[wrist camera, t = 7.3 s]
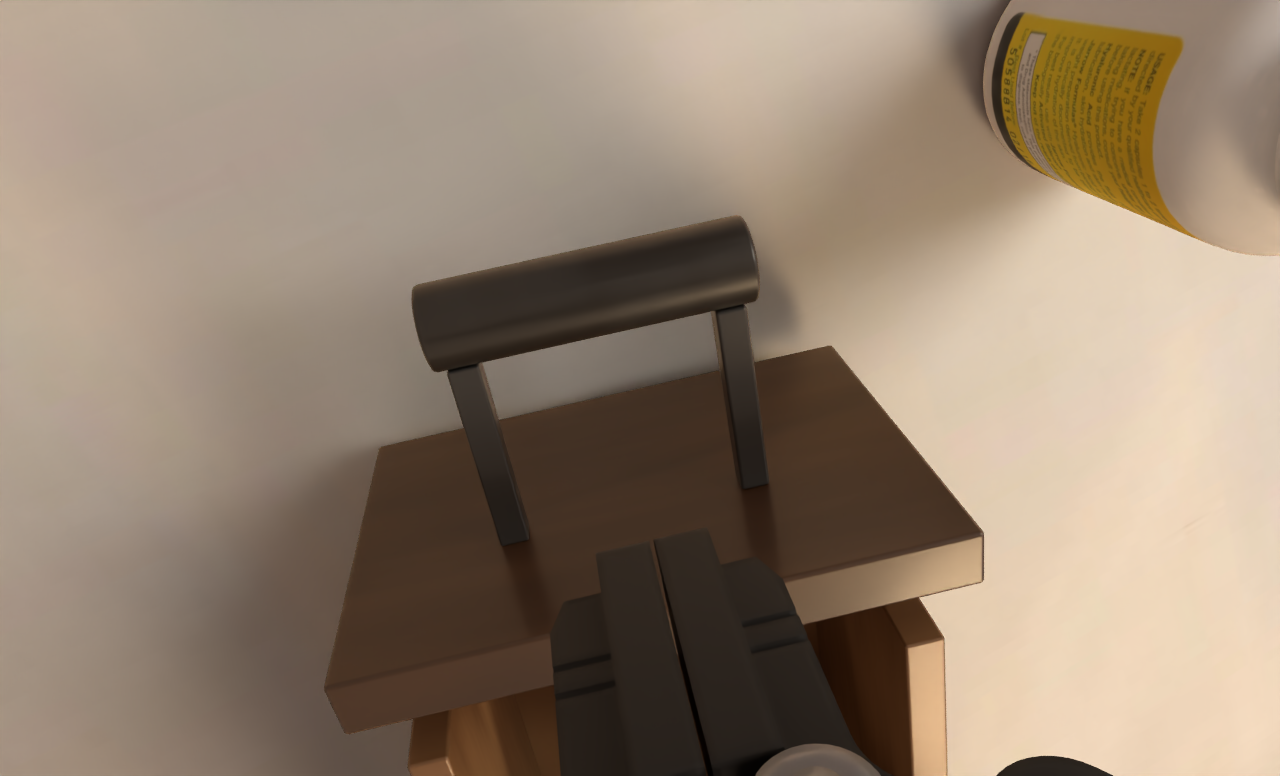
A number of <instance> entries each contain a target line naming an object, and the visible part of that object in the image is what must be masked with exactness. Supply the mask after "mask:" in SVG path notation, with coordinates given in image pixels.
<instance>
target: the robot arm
mask: <svg viewBox="0 0 1280 776" xmlns="http://www.w3.org/2000/svg"><path fill="white" fill-rule="evenodd" d="M654 545H655V550H656V555H657V560H658V565H659V569H660V574H661V579H662V583H663V588H664V593H665V598H666V602H667V607H668V612H669V616H670V621H671V626H672V630H673V635H674V639H675V644H676V648H677V652H676V648H675V644H674V640H673V636H672V632H671V628H670V624H669V620H668V616H667V612H666V608H665V604H664V600H663V596H662V592H661V588H660V584H659V579H658V575H657V571H656V567H655V563H654V559H653V555H652V551H651V547H650V543H649V541H645V542H641V543H637V544H632V545H628V546H624V547H620V548H615V549H611V550H607V551H602V552H598V553H596V562H597V568H598V575H599V581H600V588H601V593H598V594H594V595H589V596H585V597H581V598H577V599H572V600H568V601H564V602H563V604H562V607H561V609H560V611H559V614H558V616H557V618H556V621H555V623H554V625H553V628H552V630H551V632H550V642H551V655H552V667H553V672H554V673H553V681H554V694H555V699H556V701H555V707H556V721H557V734H558V747H559V760H560V773H561V776H707V775H706V770H707V774H708V776H893V775H891V774H889V773H887V772H885V771H884V770H882V769H881V768H879V767H878V766H877V765H875V764H874V763H872V762H871V761H870V760H869V759H868V758H867V757H866V756H865V755H864V754H863V753H862V751H861V750H860V749H859V747H858V746H857V745H856V743H855V741H854V740H853V738H852V736H851V734H850V732H849V729H848V727H847V725H846V723H845V720H844V718H843V716H842V713H841V711H840V709H839V707H838V704H837V702H836V700H835V697H834V695H833V693H832V691H831V688H830V686H829V684H828V681H827V679H826V677H825V674H824V672H823V670H822V668H821V665H820V663H819V661H818V658H817V656H816V654H815V652H814V649H813V647H812V645H811V642H810V640H808V637H807V633H806V631H805V629H804V626H803V624H802V622H801V619H800V617H799V615H797V612H796V608H795V606H794V603H793V601H792V599H791V597H790V594H789V592H788V590H787V587H786V585H785V583H784V581H783V579H782V578H781V577H780V576H779V575H778V574H776V573H775V572H774V571H773V570H772V569H770V568H769V567H768V566H767V565H766V564H764V563H763V562H762V561H761V560H759V559H758V558H757V557H756V556H755V557H751V558H746V559H742V560H738V561H734V562H729V563H725V564H721V565H720V562H719V559H718V556H717V553H716V550H715V547H714V545H713V542H712V539H711V536H710V533H709V531H708V529H707V527H705V528H700V529H696V530H692V531H687V532H683V533H679V534H674V535H670V536H666V537H662V538H657V539H654ZM677 653H678V656H677ZM678 657H679V660H678ZM679 661H680V664H679ZM680 665H681V668H680ZM681 669H682V673H681ZM682 674H683V677H682ZM683 678H684V681H683ZM684 682H685V685H684ZM685 686H686V689H685ZM686 690H687V693H686ZM687 694H688V697H687ZM688 698H689V701H688ZM689 702H690V705H689ZM690 706H691V709H690ZM691 710H692V713H691ZM692 714H693V717H692ZM693 718H694V721H693ZM694 722H695V725H694ZM695 726H696V729H695ZM696 730H697V733H696ZM697 734H698V737H697ZM698 738H699V741H698ZM699 742H700V745H699ZM700 746H701V749H700ZM701 750H702V753H701ZM702 754H703V758H704V762H705V766H706V770H705V766H704V762H703V758H702ZM997 776H1113V775H1111V774H1109V773H1107V772H1104V771H1102V770H1100V769H1098V768H1096V767H1094V766H1091V765H1089V764H1086V763H1084V762H1081V761H1077V760H1074V759H1070V758H1064V757H1057V756H1038V757H1031V758H1026V759H1023V760H1020V761H1017V762H1015V763H1013V764H1011V765H1009V766H1007V767H1006V768H1005V769H1003V770H1002V771H1001V772H999V773H998V774H997Z"/></svg>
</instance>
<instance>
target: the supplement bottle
mask: <svg viewBox="0 0 1280 776" xmlns="http://www.w3.org/2000/svg"><path fill="white" fill-rule="evenodd" d="M983 95H984V104H985V108H986V112H987V116H988V119H989V122H990V124H991V126H992V129H993V131H994V133H995V135H996V136H997V138H998V139H999V141H1000V142H1001V144H1002V145H1003V146H1004V147H1005V148H1006V149H1007V151H1008V152H1009V153H1010V154H1012V155H1013V156H1014V157H1015V158H1017V159H1018V160H1019V161H1021V162H1022V163H1024V164H1025V165H1027V166H1029V167H1031V168H1032V169H1034V170H1036V171H1038V172H1040V173H1042V174H1044V175H1046V176H1049V177H1051V178H1053V179H1055V180H1058V181H1060V182H1062V183H1065V184H1067V185H1070V186H1072V187H1075V188H1077V189H1079V190H1081V191H1084V192H1086V193H1089V194H1091V195H1093V196H1096V197H1098V198H1101V199H1103V200H1106V201H1108V202H1110V203H1112V204H1115V205H1117V206H1120V207H1122V208H1125V209H1127V210H1130V211H1132V212H1134V213H1137V214H1139V215H1142V216H1144V217H1146V218H1149V219H1151V220H1154V221H1156V222H1158V223H1161V224H1163V225H1165V226H1168V227H1170V228H1172V229H1175V230H1177V231H1179V232H1182V233H1184V234H1186V235H1189V236H1191V237H1194V238H1196V239H1198V240H1201V241H1203V242H1206V243H1208V244H1211V245H1213V246H1217V247H1220V248H1223V249H1226V250H1229V251H1233V252H1237V253H1242V254H1249V255H1259V256H1276V255H1280V0H1011V1H1010V3H1009V4H1008V6H1007V7H1006V9H1005V11H1004V12H1003V14H1002V16H1001V18H1000V20H999V22H998V24H997V26H996V28H995V31H994V33H993V36H992V38H991V41H990V45H989V48H988V51H987V56H986V60H985V65H984V75H983Z"/></svg>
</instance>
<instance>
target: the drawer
mask: <svg viewBox="0 0 1280 776" xmlns="http://www.w3.org/2000/svg"><path fill="white" fill-rule="evenodd" d="M759 291H760V276H759V268H758V261H757V256H756V251H755V247H754V243H753V240H752V237H751V234H750V231H749V228H748V226H747V224H746V222H745V221H744V219H743V218H742V217H741V216H739V215H734V216H730V217H725V218H720V219H716V220H711V221H707V222H702V223H697V224H693V225H688V226H684V227H679V228H675V229H670V230H665V231H661V232H656V233H652V234H647V235H642V236H638V237H633V238H629V239H624V240H620V241H615V242H610V243H606V244H601V245H597V246H592V247H587V248H583V249H578V250H574V251H569V252H564V253H560V254H555V255H551V256H546V257H542V258H537V259H532V260H528V261H523V262H519V263H514V264H509V265H505V266H500V267H496V268H491V269H487V270H482V271H477V272H473V273H468V274H464V275H459V276H454V277H450V278H445V279H441V280H436V281H432V282H427V283H422V284H418V285H416V286H414V287H413V289H412V310H413V317H414V322H415V327H416V331H417V335H418V338H419V342H420V345H421V348H422V351H423V354H424V356H425V358H426V361H427V363H428V364H429V366H430V367H431V369H432V370H433V371H435V372H441V371H446V370H448V371H447V376H448V379H449V382H450V385H451V389H452V392H453V395H454V398H455V401H456V405H457V408H458V411H459V414H460V417H461V420H462V424H463V427H464V428H462V429H458V430H453V431H449V432H444V433H440V434H436V435H431V436H427V437H422V438H418V439H413V440H409V441H405V442H400V443H396V444H391V445H387V446H382V447H380V448H379V451H378V455H377V460H376V464H375V468H374V473H373V477H372V481H371V486H370V490H369V494H368V499H367V503H366V507H365V512H364V516H363V520H362V525H361V529H360V533H359V538H358V542H357V546H356V551H355V555H354V559H353V564H352V568H351V572H350V577H349V581H348V585H347V590H346V594H345V598H344V603H343V607H342V611H341V616H340V620H339V625H338V629H337V633H336V638H335V642H334V646H333V651H332V655H331V659H330V664H329V668H328V672H327V677H326V681H325V685H324V691H325V693H326V695H327V697H328V699H329V702H330V704H331V706H332V708H333V710H334V712H335V714H336V716H337V718H338V720H339V723H340V725H341V727H342V729H343V731H344V733H345V734H352V733H356V732H360V731H364V730H369V729H373V728H377V727H381V726H385V725H389V724H394V723H398V722H402V721H406V720H410V719H413V720H412V730H411V739H410V748H409V758H408V767H407V768H408V770H409V772H410V774H411V776H561V773H560V760H559V747H558V734H557V721H556V707H555V701H556V699H555V694H554V681H553V673H554V672H553V667H552V655H551V642H550V632H551V630H552V628H553V625H554V623H555V621H556V618H557V616H558V614H559V611H560V609H561V607H562V604H563V602H564V601H568V600H572V599H577V598H581V597H585V596H589V595H594V594H598V593H601V588H600V581H599V575H598V568H597V562H596V553H598V552H602V551H607V550H611V549H615V548H620V547H624V546H628V545H632V544H637V543H641V542H645V541H649V543H650V547H651V551H652V555H653V559H654V563H655V567H656V571H657V575H658V579H659V584H660V588H661V592H662V596H663V600H664V604H665V608H666V612H667V616H668V620H669V624H670V628H671V632H672V636H673V640H674V644H675V639H674V635H673V630H672V626H671V621H670V616H669V612H668V607H667V602H666V598H665V593H664V588H663V583H662V579H661V574H660V569H659V565H658V560H657V555H656V550H655V545H654V539H657V538H662V537H666V536H670V535H674V534H679V533H683V532H687V531H692V530H696V529H700V528H705V527H707V529H708V531H709V533H710V536H711V539H712V542H713V545H714V547H715V550H716V553H717V556H718V559H719V562H720V565H721V564H725V563H729V562H734V561H738V560H742V559H746V558H751V557H755V556H756V557H757V558H758V559H759V560H761V561H762V562H763V563H764V564H766V565H767V566H768V567H769V568H770V569H772V570H773V571H774V572H775V573H776V574H778V575H779V576H780V577H781V578H782V579H783V581H784V583H785V585H786V587H787V590H788V592H789V594H790V597H791V599H792V601H793V603H794V606H795V608H796V612H797V615H799V617H800V619H801V622H802V624H803V626H804V629H805V631H806V633H807V637H808V640H810V642H811V645H812V647H813V649H814V652H815V654H816V656H817V658H818V661H819V663H820V665H821V668H822V670H823V672H824V674H825V677H826V679H827V681H828V684H829V686H830V688H831V691H832V693H833V695H834V697H835V700H836V702H837V704H838V707H839V709H840V711H841V713H842V716H843V718H844V720H845V723H846V725H847V727H848V729H849V732H850V734H851V736H852V738H853V740H854V741H855V743H856V745H857V746H858V747H859V749H860V750H861V751H862V753H863V754H864V755H865V756H866V757H867V758H868V759H869V760H870V761H871V762H872V763H874V764H875V765H877V766H878V767H879V768H881V769H882V770H884V771H885V772H887V773H889V774H891V775H893V776H947V736H946V692H945V649H944V636H943V635H942V633H941V632H940V630H939V629H938V627H937V625H936V624H935V622H934V621H933V619H932V618H931V616H930V614H929V613H928V611H927V610H926V608H925V607H924V605H923V603H922V602H921V600H920V599H919V597H923V596H927V595H932V594H936V593H940V592H944V591H948V590H952V589H957V588H961V587H965V586H969V585H973V584H977V583H981V582H982V581H983V580H984V533H983V531H982V529H981V528H980V527H979V526H978V525H977V523H976V522H975V521H974V520H973V518H972V517H971V516H970V515H969V514H968V512H967V511H966V510H965V509H964V507H963V506H962V505H961V504H960V503H959V501H958V500H957V499H956V498H955V496H954V495H953V494H952V493H951V491H950V490H949V489H948V488H947V487H946V485H945V484H944V483H943V482H942V480H941V479H940V478H939V477H938V476H937V474H936V473H935V472H934V471H933V469H932V468H931V467H930V466H929V465H928V463H927V462H926V461H925V460H924V458H923V457H922V456H921V455H920V453H919V452H918V451H917V450H916V449H915V447H914V446H913V445H912V444H911V442H910V441H909V440H908V439H907V438H906V436H905V435H904V434H903V433H902V431H901V430H900V429H899V428H898V426H897V425H896V424H895V423H894V422H893V420H892V419H891V418H890V417H889V415H888V414H887V413H886V412H885V411H884V409H883V408H882V407H881V406H880V404H879V403H878V402H877V401H876V400H875V398H874V397H873V396H872V395H871V393H870V392H869V391H868V390H867V388H866V387H865V386H864V385H863V384H862V382H861V381H860V380H859V379H858V377H857V376H856V375H855V374H854V373H853V371H852V370H851V369H850V368H849V366H848V365H847V364H846V363H845V362H844V360H843V359H842V358H841V357H840V355H839V354H838V353H837V352H836V350H835V349H834V348H833V347H832V346H825V347H821V348H816V349H812V350H807V351H803V352H799V353H794V354H790V355H785V356H781V357H776V358H772V359H768V360H763V361H759V362H754V359H753V351H752V343H751V336H750V328H749V320H748V313H747V308H746V306H745V305H744V304H747V303H751V302H754V301H756V300H757V299H758V297H759ZM706 312H711V316H712V322H713V329H714V335H715V342H716V348H717V355H718V362H719V368H720V370H719V371H714V372H710V373H706V374H701V375H697V376H692V377H688V378H683V379H679V380H675V381H670V382H666V383H661V384H657V385H652V386H648V387H644V388H639V389H635V390H630V391H626V392H621V393H617V394H613V395H608V396H604V397H599V398H595V399H590V400H586V401H582V402H577V403H573V404H568V405H564V406H559V407H555V408H551V409H546V410H542V411H537V412H533V413H528V414H524V415H520V416H515V417H511V418H506V419H502V420H499V419H498V416H497V412H496V409H495V405H494V402H493V398H492V395H491V392H490V388H489V385H488V381H487V378H486V374H485V371H484V368H483V364H482V362H486V361H491V360H495V359H500V358H504V357H509V356H513V355H518V354H522V353H527V352H531V351H536V350H540V349H545V348H549V347H554V346H558V345H563V344H567V343H572V342H576V341H581V340H585V339H590V338H594V337H599V336H603V335H608V334H612V333H616V332H621V331H625V330H630V329H634V328H639V327H643V326H648V325H652V324H657V323H661V322H666V321H670V320H675V319H679V318H684V317H688V316H693V315H697V314H702V313H706ZM675 648H676V644H675ZM676 652H677V648H676ZM677 656H678V653H677ZM678 660H679V657H678ZM679 664H680V661H679ZM680 668H681V665H680ZM681 673H682V669H681ZM682 677H683V674H682ZM683 681H684V678H683ZM684 685H685V682H684ZM685 689H686V686H685ZM686 693H687V690H686ZM687 697H688V694H687ZM688 701H689V698H688ZM689 705H690V702H689ZM690 709H691V706H690ZM691 713H692V710H691ZM692 717H693V714H692ZM693 721H694V718H693ZM694 725H695V722H694ZM695 729H696V726H695ZM696 733H697V730H696ZM697 737H698V734H697ZM698 741H699V738H698ZM699 745H700V742H699ZM700 749H701V746H700ZM701 753H702V750H701ZM702 758H703V754H702ZM703 762H704V758H703ZM704 766H705V762H704ZM705 770H706V766H705ZM706 775H707V776H708V774H707V770H706Z"/></svg>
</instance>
